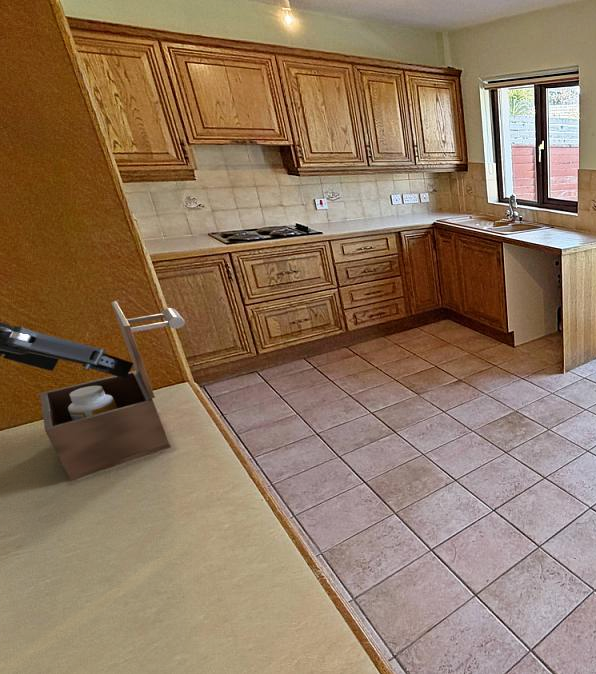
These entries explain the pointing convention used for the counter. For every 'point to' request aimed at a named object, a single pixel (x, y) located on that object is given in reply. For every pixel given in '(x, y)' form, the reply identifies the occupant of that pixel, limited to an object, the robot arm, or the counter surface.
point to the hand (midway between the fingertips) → (91, 366)
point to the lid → (168, 314)
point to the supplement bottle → (90, 402)
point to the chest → (103, 427)
